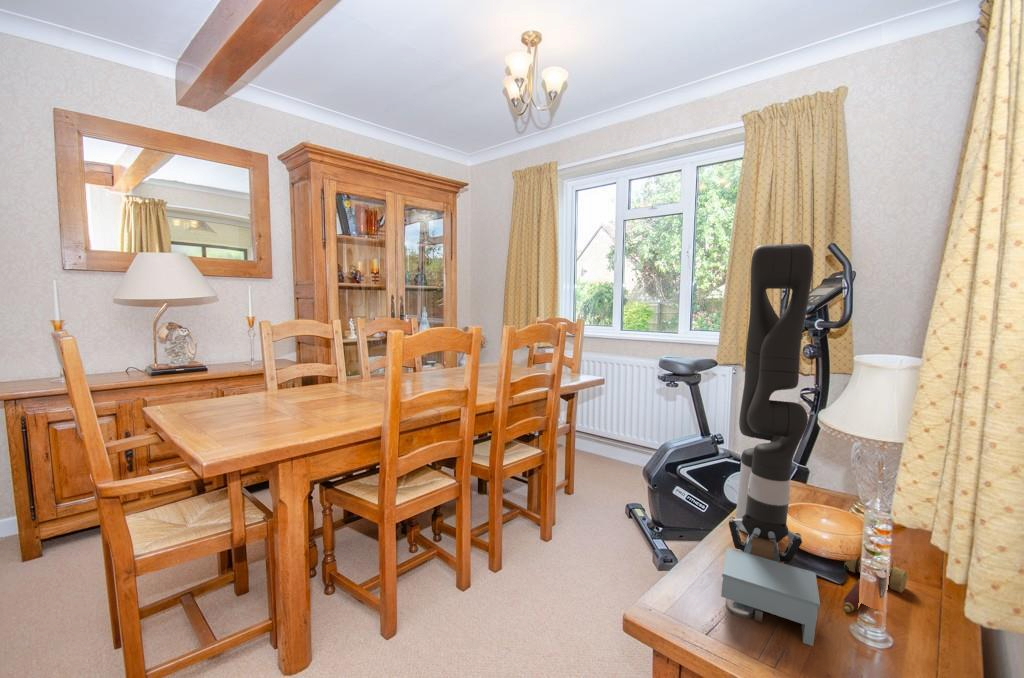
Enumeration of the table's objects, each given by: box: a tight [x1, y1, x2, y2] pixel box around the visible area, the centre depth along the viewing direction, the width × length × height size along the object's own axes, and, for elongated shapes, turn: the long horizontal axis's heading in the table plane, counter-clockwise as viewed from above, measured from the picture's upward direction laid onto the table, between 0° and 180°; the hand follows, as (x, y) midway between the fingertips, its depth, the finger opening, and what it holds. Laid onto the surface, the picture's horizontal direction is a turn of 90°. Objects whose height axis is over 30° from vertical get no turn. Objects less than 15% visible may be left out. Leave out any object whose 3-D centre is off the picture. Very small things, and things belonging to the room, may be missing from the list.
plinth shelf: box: [720, 547, 821, 647], centre depth 88 cm, size 10×15×8 cm
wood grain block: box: [751, 537, 775, 623], centre depth 92 cm, size 16×4×10 cm, turn 152°
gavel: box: [843, 557, 908, 613], centre depth 95 cm, size 21×5×10 cm
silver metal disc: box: [725, 598, 755, 619], centre depth 89 cm, size 5×5×1 cm
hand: (759, 572), depth 97 cm, fingers closed on wood grain block, 4 cm apart
